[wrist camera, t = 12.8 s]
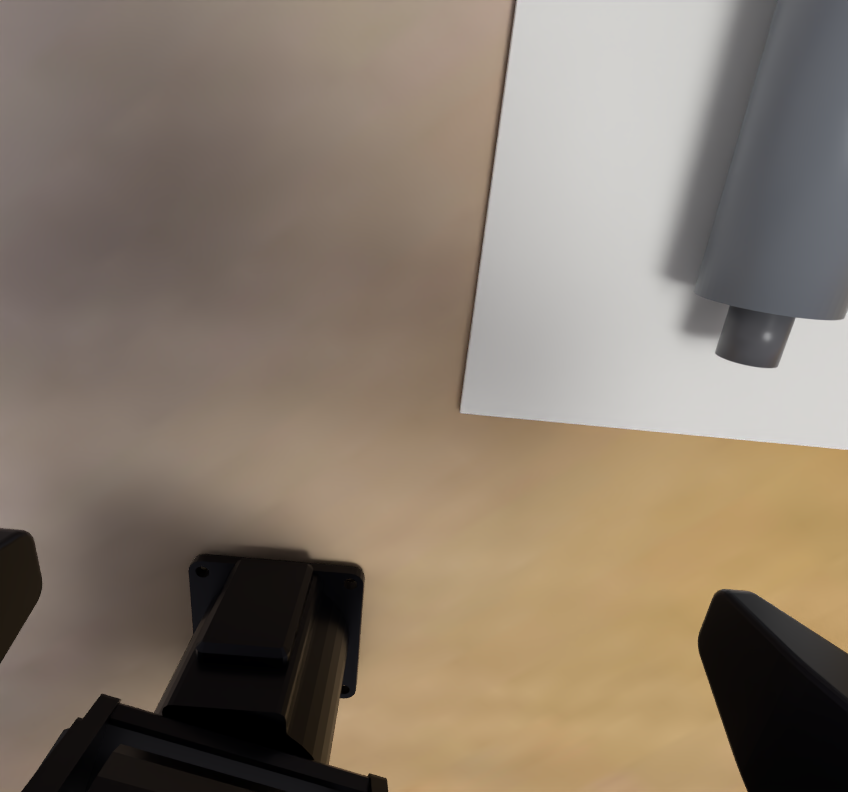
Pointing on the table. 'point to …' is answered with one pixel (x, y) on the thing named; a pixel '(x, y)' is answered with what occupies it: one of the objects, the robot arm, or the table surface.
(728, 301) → the marker
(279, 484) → the table surface
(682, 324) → the paper sheet
